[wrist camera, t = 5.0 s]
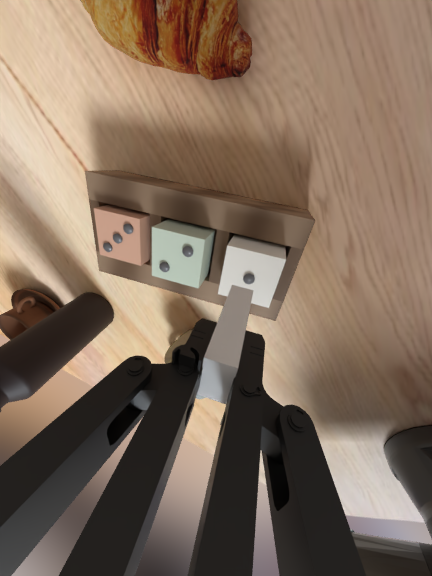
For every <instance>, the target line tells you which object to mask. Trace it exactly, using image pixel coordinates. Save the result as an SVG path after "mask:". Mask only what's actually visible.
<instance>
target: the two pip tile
mask: <svg viewBox="0 0 432 576" xmlns="http://www.w3.org/2000/svg"><path fill="white" fill-rule="evenodd" d="M214 235H215V230H214V229H209V228H205V227H201V226H197V225H192V224H188V223H184V222H180V221H175V220H171V219H168V220H166V221H164V222H161V223H159V224H157V225H155V226H153V227H152V276H155V277H159V278H162V279H166V280H169V281H173V282H177V283H180V284H184V285H187V286H191V287H195V288H199V287H200V285H201V284H202V282H203V281H204V279H205V278H206V276H207V275H208V273H209V266H210V260H211V254H212V247H213V241H214Z"/></svg>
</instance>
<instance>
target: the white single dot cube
mask: <svg viewBox="0 0 432 576" xmlns="http://www.w3.org/2000/svg"><path fill="white" fill-rule="evenodd" d="M285 262H286V250H285V246H282V245H277V244H273V243H269V242H265V241H260V240H256V239H252V238H248V237H243V236H239V235H234V236H233V238H232V239H231V241H230V242H229V243H228V245H227V249H226V254H225V260H224V265H223V270H222V275H221V280H220V285H219V290H218V294H220V295H223V296H228V294H229V291H230V289H231V286H232V285H235V286H239V287H243V288H247V289H250V290H254V291H253V296H252V301H251V303H252V304H256V305H259V306H263V307H267V308H269V306H270V303H271V301H272V298H273V295H274V292H275V289H276V287H277V284H278V281H279V278H280V276H281V273H282V270H283V267H284V264H285Z"/></svg>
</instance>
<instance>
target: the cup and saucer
mask: <svg viewBox="0 0 432 576" xmlns="http://www.w3.org/2000/svg"><path fill="white" fill-rule="evenodd" d="M11 302H12V306H13V309H11V310H9V311H7V312H5V313H3V314H1V315H0V329H1V330H2V332H3V333H4V334H5V335H6V336H7V337H8V338H9V339H10V340H12V339H13V338H15V337H16V336H18V335H19V334H21V333H23V332H24V331H26V330H27V329H29V328H30V327H32V326H34V325H35V324H37V323H38V322H40V321H41V320H43V319H44V318H46V317H48V316H49V315H51V314H52V313H54V312H55V311H57V310H58V309H60V307H59V306H58V305H57V304H56V303H55V302H54V301H53V300H52V299H50V298H49V297H47V296H46V295H44V294H42V293H40V292H37V291H34V290H30V289H21V290H17V291H15V292H14V293H13V295H12V298H11Z"/></svg>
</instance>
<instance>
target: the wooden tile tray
mask: <svg viewBox="0 0 432 576" xmlns="http://www.w3.org/2000/svg"><path fill="white" fill-rule="evenodd" d="M85 174H86V181H87V188H88V195H89V202H90V209H91V216H92V223H93V230H94V237H95V244H96V251H97V258H98V265H99V271H102V272H106V273H109V274H113V275H116V276H120V277H123V278H127V279H130V280H134V281H137V282H141V283H144V284H148V285H151V286H155V287H158V288H162V289H165V290H169V291H172V292H176V293H179V294H183V295H186V296H190V297H193V298H197V299H200V300H204V301H207V302H211V303H214V304H218V305H222V306H224V304H225V302H226V299H227V296H223V295H220V294H218V290H219V285H220V280H221V275H222V270H223V265H224V260H225V254H226V249H227V245H228V243H229V242H230V241H231V239H232V238H233V236H234V235H239V236H243V237H248V238H252V239H256V240H260V241H265V242H269V243H273V244H277V245H282V246H285V250H286V262H285V264H284V267H283V270H282V273H281V276H280V278H279V281H278V284H277V287H276V289H275V292H274V295H273V298H272V301H271V303H270V306H269V308H267V307H263V306H259V305H256V304H252V303H251V306H250V311H249V313H250V314H253V315H257V316H260V317H264V318H267V319H271V320H274V321H276V318H277V316H278V313H279V311H280V308H281V306H282V303H283V301H284V298H285V296H286V293H287V290H288V288H289V285H290V283H291V280H292V278H293V275H294V273H295V270H296V268H297V265H298V263H299V260H300V258H301V255H302V253H303V250H304V247H305V245H306V242H307V240H308V237H309V235H310V232H311V230H312V227H313V225H314V222H315V219H314V218H313V216H312V215H311V214H310V212H309V211H308V210H304V209H299V208H295V207H290V206H285V205H280V204H276V203H271V202H266V201H261V200H256V199H252V198H247V197H242V196H237V195H233V194H228V193H223V192H218V191H214V190H209V189H204V188H199V187H194V186H190V185H185V184H180V183H175V182H171V181H166V180H161V179H156V178H151V177H147V176H142V175H137V174H132V173H128V172H123V171H118V170H114V171H85ZM110 204H112V205H116V206H120V207H125V208H129V209H133V210H137V211H142V212H146V213H150V260H148V261H147V262H146V263H144V264H143V265H141V266H140V265H136V264H132V263H129V262H125V261H121V260H118V259H114V258H110V257H107V256H103V255H100V251H99V244H98V236H97V229H96V222H95V214H94V208H96V207H101V206H106V205H110ZM168 219H171V220H175V221H180V222H184V223H188V224H192V225H197V226H201V227H205V228H209V229H214V230H215V235H214V241H213V247H212V254H211V260H210V266H209V273H208V275H207V276H206V278H205V279H204V281H203V282H202V284H201V285H200V287H199V288H195V287H191V286H187V285H184V284H180V283H177V282H173V281H169V280H166V279H162V278H159V277H155V276H152V227H153V226H155V225H157V224H159V223H161V222H164V221H166V220H168Z"/></svg>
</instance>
